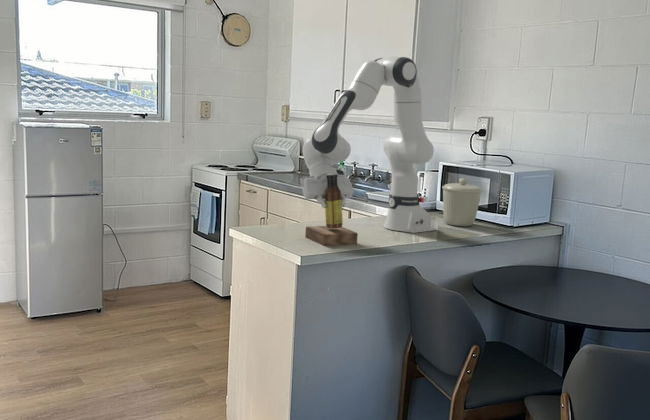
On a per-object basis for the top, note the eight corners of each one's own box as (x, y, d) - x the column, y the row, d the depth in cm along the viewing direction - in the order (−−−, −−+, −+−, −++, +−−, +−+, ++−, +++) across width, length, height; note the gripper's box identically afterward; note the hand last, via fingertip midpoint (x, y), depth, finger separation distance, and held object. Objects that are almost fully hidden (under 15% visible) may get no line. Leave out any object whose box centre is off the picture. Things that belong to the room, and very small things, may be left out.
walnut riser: (337, 235, 247) (337, 225, 247) (356, 243, 236) (357, 233, 235) (305, 237, 240) (305, 226, 240) (323, 245, 229) (324, 234, 228)
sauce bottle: (343, 224, 240) (342, 172, 236) (341, 229, 234) (341, 175, 230) (325, 224, 241) (325, 172, 237) (324, 228, 235) (323, 175, 230)
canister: (429, 221, 291) (434, 175, 287) (456, 219, 302) (461, 175, 298) (460, 229, 277) (465, 181, 273) (487, 227, 287) (492, 180, 284)
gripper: (301, 171, 234) (313, 202, 228) (349, 171, 245) (361, 201, 238) (295, 181, 239) (306, 212, 232) (342, 181, 249) (353, 210, 243)
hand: (334, 206), depth 235 cm, fingers closed on sauce bottle, 6 cm apart
